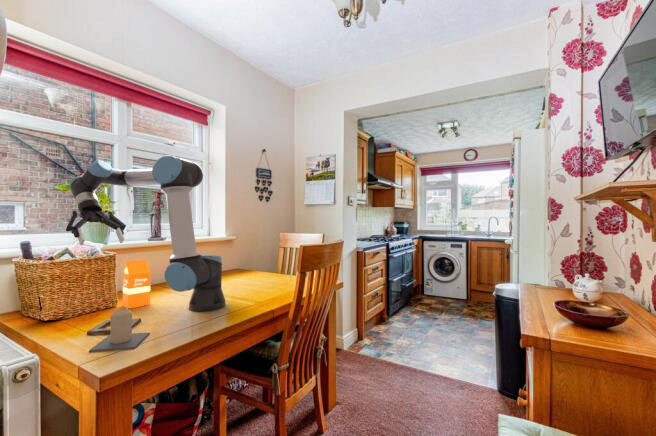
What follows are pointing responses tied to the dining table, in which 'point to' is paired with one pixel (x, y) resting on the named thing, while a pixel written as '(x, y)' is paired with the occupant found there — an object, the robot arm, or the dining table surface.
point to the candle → (121, 326)
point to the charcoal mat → (132, 344)
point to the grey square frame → (100, 330)
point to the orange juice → (136, 284)
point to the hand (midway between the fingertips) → (103, 241)
